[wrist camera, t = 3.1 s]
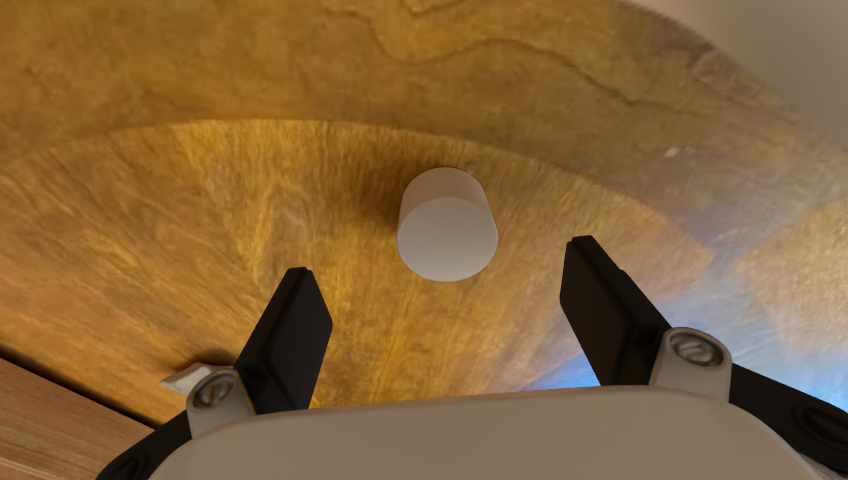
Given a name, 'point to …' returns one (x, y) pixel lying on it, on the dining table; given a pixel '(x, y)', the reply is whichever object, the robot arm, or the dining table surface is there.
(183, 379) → the stone
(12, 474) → the tray
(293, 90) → the dining table surface
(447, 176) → the cylinder
